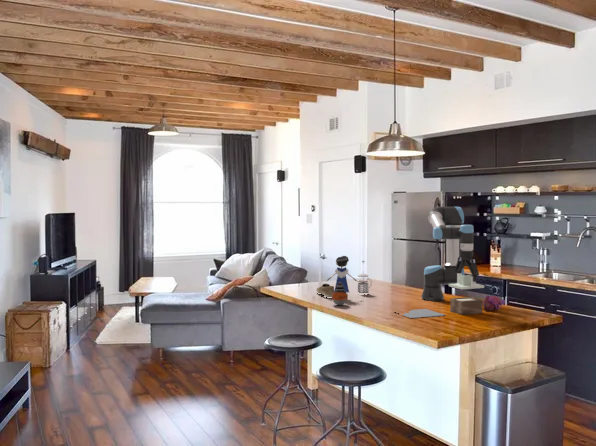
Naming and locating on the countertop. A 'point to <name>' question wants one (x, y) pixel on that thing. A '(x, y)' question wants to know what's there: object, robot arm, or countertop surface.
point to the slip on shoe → (326, 290)
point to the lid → (465, 283)
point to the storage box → (466, 305)
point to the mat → (422, 313)
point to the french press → (365, 285)
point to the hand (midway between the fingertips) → (466, 285)
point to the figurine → (342, 272)
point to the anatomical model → (492, 303)
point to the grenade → (339, 294)
